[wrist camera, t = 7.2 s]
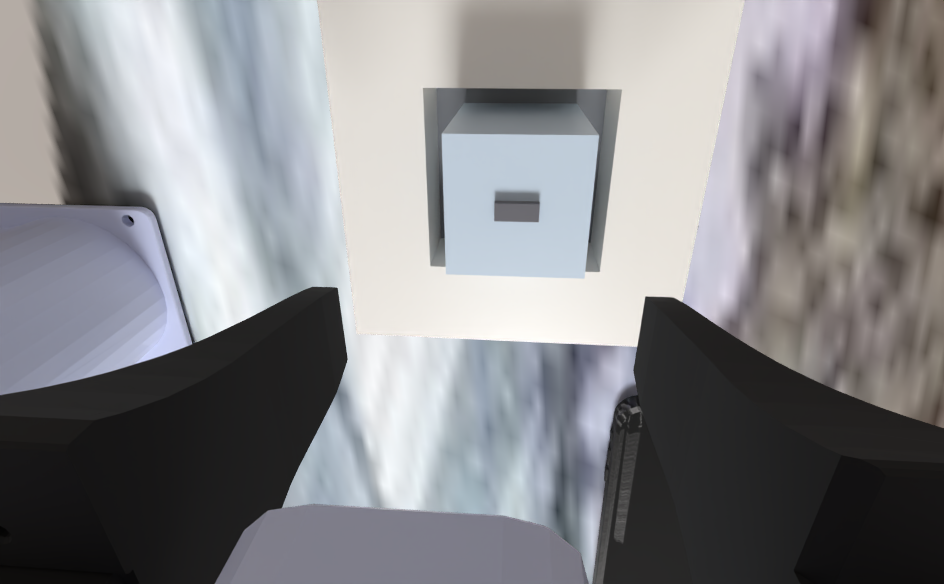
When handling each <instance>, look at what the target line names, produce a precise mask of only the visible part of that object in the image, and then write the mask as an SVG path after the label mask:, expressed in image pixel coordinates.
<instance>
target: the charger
mask: <svg viewBox="0 0 944 584" xmlns="http://www.w3.org/2000/svg"><path fill="white" fill-rule="evenodd" d="M598 142H599V134H598V133H597V132H596V130H595V129H594V127H593V126H592V124H591V123H590V121H589V120H588V119H587V117H586V116H585V114H584V113H583V111H582V110H581V109H580V107H579V106H578V104H577V103H464V104H463V105H462V107H461V108H460V109H459V111H458V112H457V114H456V115H455V116H454V118H453V119H452V120H451V122H450V123H449V124H448V126H447V127H446V128H445V130H444V131H443V132H442V164H443V196H444V228H445V260H446V274H451V275H483V276H515V277H547V278H579V279H585V269H586V259H587V249H588V239H589V230H590V220H591V210H592V200H593V191H594V181H595V171H596V161H597V151H598Z"/></svg>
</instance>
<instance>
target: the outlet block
mask: <svg viewBox="0 0 944 584" xmlns="http://www.w3.org/2000/svg"><path fill="white" fill-rule="evenodd" d="M744 1H745V0H317V3H318V11H319V20H320V28H321V37H322V45H323V53H324V62H325V70H326V79H327V87H328V96H329V104H330V113H331V121H332V129H333V138H334V146H335V155H336V163H337V172H338V180H339V189H340V197H341V205H342V214H343V222H344V231H345V239H346V248H347V256H348V265H349V273H350V281H351V290H352V298H353V307H354V315H355V324H356V332H357V334H368V335H390V336H412V337H434V338H457V339H479V340H501V341H523V342H545V343H567V344H590V345H612V346H634V347H637V346H638V339H639V333H640V327H641V320H642V314H643V308H644V301H645V296H648V297H673V298H675V299H677V300H679V301H681V302H682V301H683V296H684V291H685V286H686V282H687V277H688V272H689V267H690V262H691V257H692V253H693V248H694V243H695V238H696V233H697V228H698V224H699V219H700V214H701V209H702V204H703V200H704V195H705V190H706V185H707V180H708V175H709V171H710V166H711V161H712V156H713V151H714V146H715V142H716V137H717V132H718V127H719V122H720V117H721V113H722V108H723V103H724V98H725V93H726V88H727V84H728V79H729V74H730V69H731V64H732V59H733V55H734V50H735V45H736V40H737V35H738V30H739V26H740V21H741V16H742V11H743V6H744ZM464 103H577V104H578V106H579V107H580V109H581V110H582V111H583V113H584V114H585V116H586V117H587V119H588V120H589V121H590V123H591V124H592V126H593V127H594V129H595V130H596V132H597V133H598V134H599V142H598V151H597V161H596V171H595V181H594V191H593V200H592V210H591V220H590V230H589V239H588V249H587V259H586V269H585V279H579V278H547V277H515V276H483V275H451V274H446V260H445V228H444V196H443V164H442V132H443V131H444V130H445V128H446V127H447V126H448V124H449V123H450V122H451V120H452V119H453V118H454V116H455V115H456V114H457V112H458V111H459V109H460V108H461V107H462V105H463V104H464Z"/></svg>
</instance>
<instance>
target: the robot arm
mask: <svg viewBox="0 0 944 584" xmlns="http://www.w3.org/2000/svg"><path fill="white" fill-rule="evenodd" d="M128 215H129V216H131V217H132V218H133V220H134V223H133V222H131V221H130V220H129V218H128ZM346 363H347V352H346V345H345V338H344V331H343V324H342V316H341V309H340V302H339V295H338V288H332V287H311V288H308V289H306V290H303V291H301V292H299V293H297V294H295V295H293V296H291V297H289V298H287V299H285V300H283V301H281V302H279V303H277V304H275V305H273V306H271V307H269V308H267V309H266V310H264V311H262V312H260V313H258V314H256V315H254V316H252V317H250V318H248V319H246V320H244V321H242V322H240V323H238V324H236V325H234V326H231V327H229V328H227V329H225V330H223V331H221V332H219V333H217V334H215V335H213V336H210V337H208V338H206V339H203V340H201V341H199V342H196V343H194V344H192V341H191V337H190V334H189V331H188V327H187V324H186V320H185V317H184V313H183V310H182V306H181V303H180V299H179V296H178V292H177V289H176V286H175V282H174V279H173V275H172V272H171V268H170V265H169V261H168V258H167V254H166V251H165V248H164V244H163V241H162V237H161V234H160V230H159V227H158V223H157V220H156V217H155V215H154V214H153V213H152V212H151V210H149V209H147V208H144V207H129V206H92V205H55V204H18V203H17V204H16V203H0V584H588V579H587V576H586V572H585V568H584V565H583V561H582V557H581V554H580V552H579V551H577V550H576V549H575V548H574V547H572V546H571V545H570V544H569V543H567V542H566V541H565V540H564V539H562V538H561V537H560V536H558V535H557V534H556V533H555V532H553V531H552V530H551V529H550V528H548V527H546V526H543V525H539V524H535V523H531V522H527V521H523V520H519V519H515V518H511V517H507V516H501V515H485V514H469V513H453V512H436V511H420V510H404V509H388V508H371V507H355V506H339V505H323V504H309V505H302V506H295V507H288V508H282V506H283V503H284V501H285V498H286V495H287V493H288V490H289V488H290V485H291V483H292V481H293V478H294V476H295V474H296V472H297V470H298V467H299V465H300V464H301V462H302V460H303V458H304V456H305V454H306V452H307V450H308V448H309V446H310V444H311V442H312V440H313V438H314V436H315V435H316V433H317V431H318V429H319V427H320V425H321V423H322V421H323V419H324V417H325V415H326V413H327V411H328V409H329V407H330V405H331V403H332V401H333V399H334V397H335V395H336V393H337V390H338V387H339V384H340V381H341V379H342V375H343V372H344V369H345V366H346ZM634 376H635V381H636V387H637V392H638V397H639V402H640V406H641V409H642V412H643V415H644V418H645V421H646V424H647V427H648V430H649V433H650V435H651V438H652V441H653V444H654V446H655V449H656V452H657V455H658V458H659V460H660V463H661V466H662V469H663V471H664V474H665V477H666V480H667V483H668V485H669V488H670V491H671V495H672V498H673V501H674V505H675V508H676V512H677V516H678V521H679V525H680V529H681V533H682V538H683V542H684V546H685V550H686V555H687V560H688V564H689V569H690V574H691V578H692V583H693V584H944V428H941V427H938V426H935V425H931V424H928V423H925V422H922V421H919V420H916V419H912V418H909V417H906V416H903V415H900V414H897V413H894V412H892V411H889V410H886V409H883V408H880V407H877V406H875V405H872V404H870V403H867V402H864V401H862V400H859V399H857V398H854V397H852V396H849V395H847V394H844V393H842V392H839V391H837V390H834V389H832V388H830V387H828V386H825V385H823V384H821V383H819V382H816V381H814V380H812V379H810V378H808V377H806V376H804V375H802V374H800V373H798V372H796V371H794V370H792V369H789V368H788V367H786V366H784V365H782V364H780V363H778V362H776V361H774V360H773V359H771V358H769V357H767V356H766V355H764V354H762V353H760V352H759V351H757V350H755V349H754V348H752V347H750V346H748V345H747V344H745V343H744V342H742V341H740V340H739V339H737V338H736V337H734V336H733V335H731V334H729V333H728V332H726V331H725V330H723V329H722V328H720V327H719V326H717V325H716V324H714V323H713V322H711V321H710V320H708V319H707V318H705V317H704V316H702V315H701V314H699V313H698V312H696V311H695V310H693V309H692V308H690V307H689V306H687V305H686V304H684V303H683V302H681V301H679V300H677V299H675V298H673V297H648V296H645V301H644V308H643V314H642V320H641V327H640V333H639V339H638V346H637V352H636V358H635V365H634Z"/></svg>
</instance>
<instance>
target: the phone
mask: <svg viewBox="0 0 944 584" xmlns="http://www.w3.org/2000/svg"><path fill="white" fill-rule="evenodd" d="M607 465H608V466H607V467H606V469H605V477H604V480H605V481H606V482H605V490H604V498H603V505H602V513H601V521H600V529H599V537H598V545H597V553H596V561H595V569H594V577H593V584H693V583H692V578H691V574H690V569H689V564H688V560H687V555H686V550H685V546H684V542H683V538H682V533H681V529H680V525H679V521H678V516H677V512H676V508H675V505H674V501H673V498H672V495H671V491H670V488H669V485H668V483H667V480H666V477H665V474H664V471H663V469H662V466H661V463H660V460H659V458H658V455H657V452H656V449H655V446H654V444H653V441H652V438H651V435H650V433H649V430H648V427H647V424H646V421H645V418H644V415H643V412H642V409H641V406H640V402H639V397H638V396H632V397H629V398H626V399H625V400H624V401H622V402H621V403H620V404H619V405H618V406H617V407H616V409H615V412H614V418H613V426H612V430H611V434H610V448H608V456H607Z"/></svg>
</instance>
